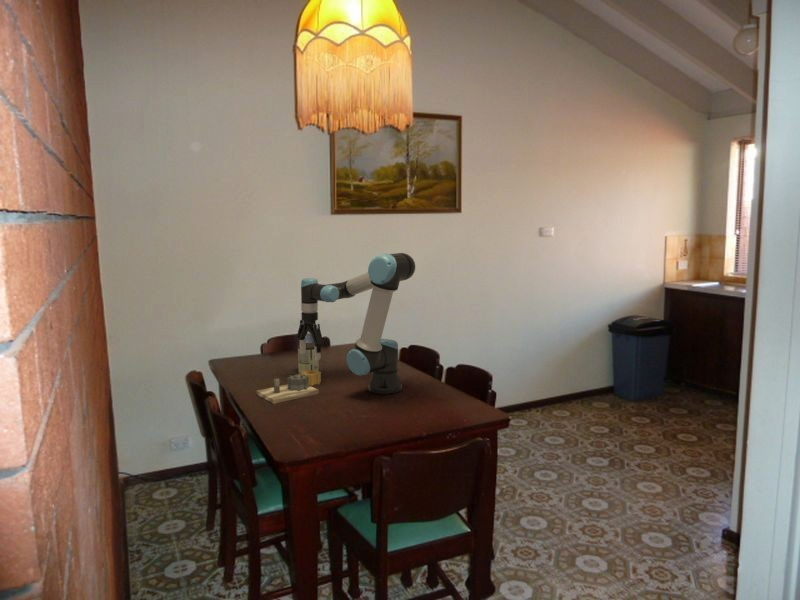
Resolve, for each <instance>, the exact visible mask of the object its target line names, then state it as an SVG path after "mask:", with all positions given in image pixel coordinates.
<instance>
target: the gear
mask: <svg viewBox="0 0 800 600" xmlns="http://www.w3.org/2000/svg"><path fill="white" fill-rule="evenodd" d="M301 375H305V376H309V386H311V387H313V386H314V385H320V383H322V372H321V371H319V372H318V370H309V371H302V373H301Z"/></svg>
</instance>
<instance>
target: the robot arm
mask: <svg viewBox="0 0 800 600" xmlns="http://www.w3.org/2000/svg"><path fill="white" fill-rule="evenodd" d="M415 272H416V263H415V260H414V259H413V257H412V256H411V255H410V254H407V253H404V252H398V253H396V252H395V253H383V254H379V255H377V256H375V257H373V258H372V259H371V260H370V262H369V265H368V268H367V272H366V273H362V274H359V275H358V276H355V277H353V278H350V279H348V280H345V281H342V282H336V283H329V284H323V283H322V284H321V283H319V281H318V279H317V278H315V277H314V278H313V277H311V278H310V277H307V278H302V280H301V282H300V293H301V296H300V297H301V298H300V300H301V301H300V303H301V304H300V306H301V309H300V310H301V314H300V315H301V318H300V320H299V327H298V330H297V334H296V338H297V339H298V340H299V344H300V354H303V353H306V343H307V342H306V337H307V335H308V333H309V334H311V337H312V339H313V343H315V360H318V361H319V360H321V348H322V347H321V346H324V344H325V343H324V340H323V336H322V335H323V334H322V332H321V325H320V323H317V321H318V320H319V313H318V311H319V308H318V306H319V304H318V303H319V301H320V302H324V303H335V302H336V301H337V300H341V299H342V300H343V299H350V298H354V297H355V296H356V295H358V294H361V293H364V292H366V291H369V290H371V293H370V294H371V295H370V297H369V301H368V307H367V311H366V314H365V319H364V322H363V326H362V330H361V335H360V337H359V338H358V339H356V341H355V344H354V347H353V348H352V349H351V350H349V351H348V352H347V354H346V363H347V366H348V368H349V370H350V371H351V372H352V373H353V374H354V375H357V376H363V375H364V376H365V375H368V374H371V376H370V379H369V382H368V391H369V392H371V393H373V394H377V393H378V395H391V394H390V393H393V394H397V393H400V392H401V391H402V390H403V385H402V380H401V378H400V374H399V343H398V341H396V340H393V339H389V338H382V336H383V332H384V329H385V325H386V321H387V317H388V313H389V310H390V306H391V301H392V297H393V294H394V293H395V292H397V291H398V289H399V286H400V283H401V282H402V281H407V280H409V279H410V278H412V277H413V275H414V274H415ZM401 389H402V390H401ZM399 391H400V392H399ZM396 392H397V393H396Z"/></svg>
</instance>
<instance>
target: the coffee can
mask: <svg viewBox="0 0 800 600" xmlns="http://www.w3.org/2000/svg"><path fill="white" fill-rule="evenodd" d="M297 361H298V362H297V363H298V365H297V366H298V374H300V375H301V373H302V371H309V370H318V372H319V369H320V368H319V367H320V366H319V365H320V364H319V363H320V362H319V359H318V360H315V342H306V353H303V354H300V343H299V344H298V345H297Z"/></svg>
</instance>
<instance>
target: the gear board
mask: <svg viewBox="0 0 800 600" xmlns="http://www.w3.org/2000/svg"><path fill="white" fill-rule="evenodd" d="M286 379H287V380H286V381H287V384H282V385H280V384H281V383H280V378H274V379H273V386H272V387H267V388H262V389H258V390H256V395H257V396H258V397H261V398H262V399H264V400H266V401H268V402H270V403H272V404H273V405H275V404H278V403H283V402H288V401H292V400H296V399H297V400H298V399H301V398H306V397H312V396H315V395H319V394H320V391H319V388H316V387H313V386H311V385H309V376H305V375H300V374H299V373H298V374H297V373H296V374H294V375H288V377H287V378H286Z"/></svg>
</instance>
